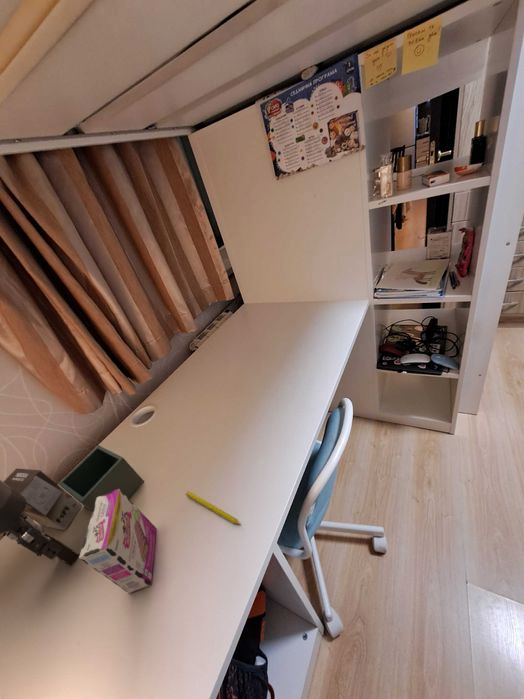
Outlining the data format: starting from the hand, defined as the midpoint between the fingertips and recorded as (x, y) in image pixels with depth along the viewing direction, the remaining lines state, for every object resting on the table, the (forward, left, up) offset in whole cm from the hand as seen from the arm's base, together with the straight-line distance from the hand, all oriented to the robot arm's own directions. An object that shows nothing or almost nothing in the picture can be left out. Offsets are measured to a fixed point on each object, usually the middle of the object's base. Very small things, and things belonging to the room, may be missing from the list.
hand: (47, 543), depth 61 cm
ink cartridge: (0, 0, -8) cm, 8 cm away
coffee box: (-13, +5, -8) cm, 16 cm away
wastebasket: (-3, +15, -7) cm, 17 cm away
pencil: (+26, +22, -8) cm, 35 cm away
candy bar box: (+18, +8, -8) cm, 21 cm away
